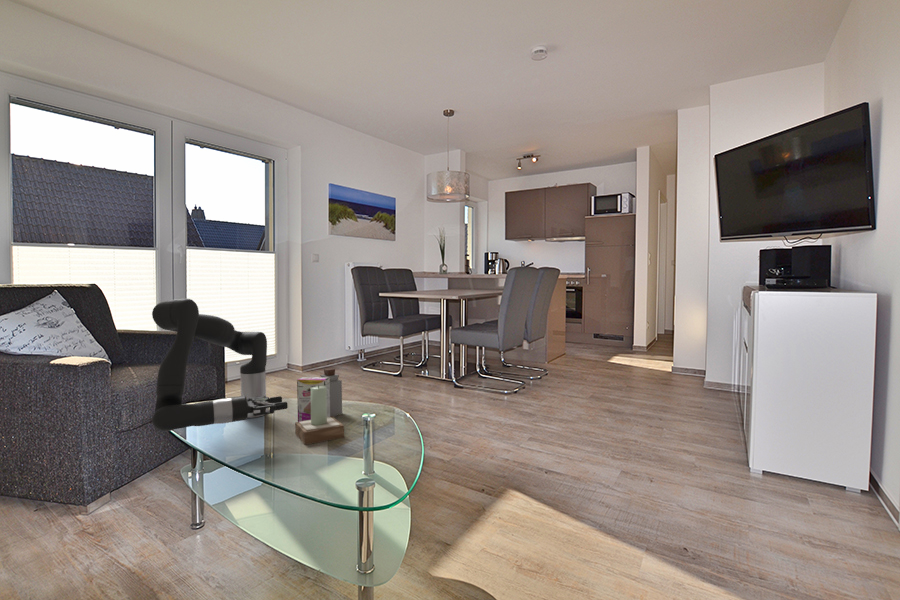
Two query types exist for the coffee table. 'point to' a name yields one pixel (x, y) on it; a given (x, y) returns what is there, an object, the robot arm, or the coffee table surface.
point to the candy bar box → (305, 395)
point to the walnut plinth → (319, 431)
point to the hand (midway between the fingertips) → (284, 402)
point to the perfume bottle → (334, 391)
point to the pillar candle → (318, 405)
